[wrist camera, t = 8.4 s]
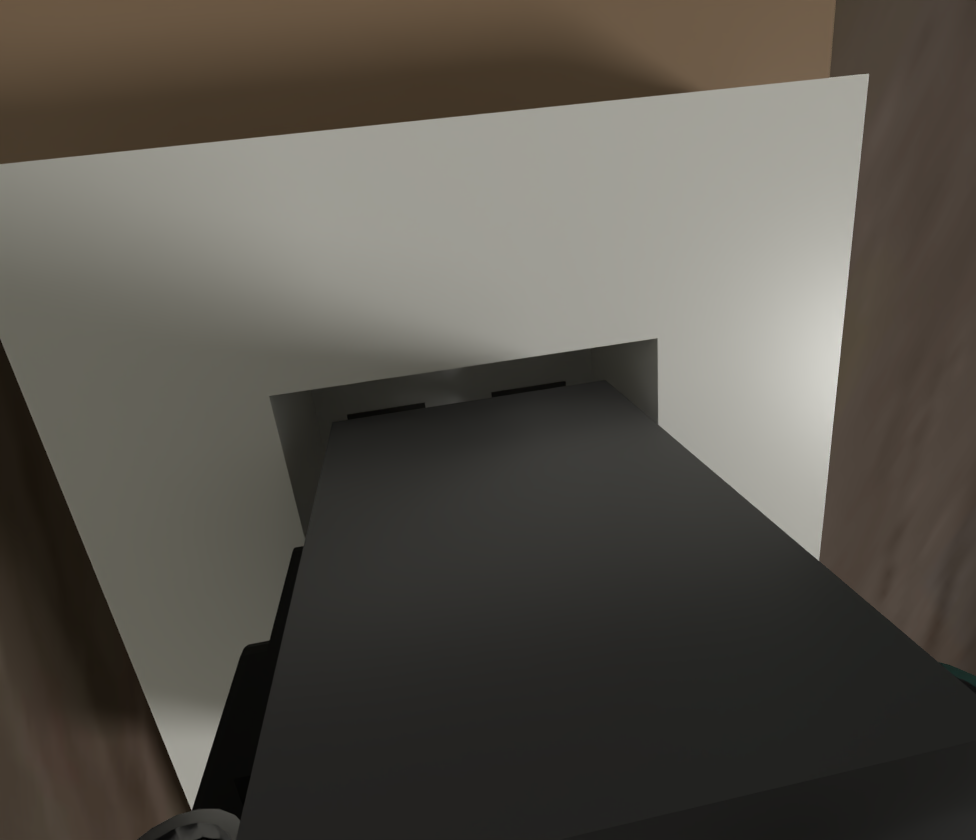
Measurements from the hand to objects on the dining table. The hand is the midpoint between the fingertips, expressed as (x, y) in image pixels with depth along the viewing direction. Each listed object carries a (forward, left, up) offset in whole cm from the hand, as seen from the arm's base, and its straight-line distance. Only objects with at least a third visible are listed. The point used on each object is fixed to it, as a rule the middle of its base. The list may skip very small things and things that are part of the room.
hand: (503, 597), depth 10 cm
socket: (0, 0, -5) cm, 5 cm away
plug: (0, 0, -2) cm, 2 cm away
